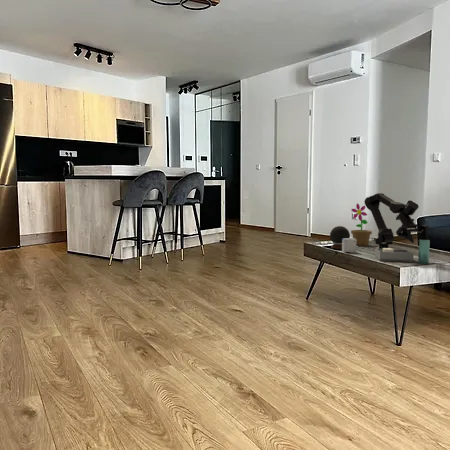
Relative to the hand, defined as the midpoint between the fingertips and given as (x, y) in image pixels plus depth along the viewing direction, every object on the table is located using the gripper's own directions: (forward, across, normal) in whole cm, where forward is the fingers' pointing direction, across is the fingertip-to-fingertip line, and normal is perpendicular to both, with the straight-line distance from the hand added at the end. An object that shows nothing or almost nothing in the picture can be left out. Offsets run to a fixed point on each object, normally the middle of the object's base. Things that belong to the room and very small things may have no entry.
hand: (420, 242), depth 229 cm
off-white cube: (-3, +10, -17) cm, 20 cm away
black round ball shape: (-36, +11, -52) cm, 64 cm away
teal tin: (+10, 0, -6) cm, 11 cm away
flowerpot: (-44, -14, -59) cm, 74 cm away
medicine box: (-23, +16, -38) cm, 47 cm away
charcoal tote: (-1, +7, -16) cm, 18 cm away
